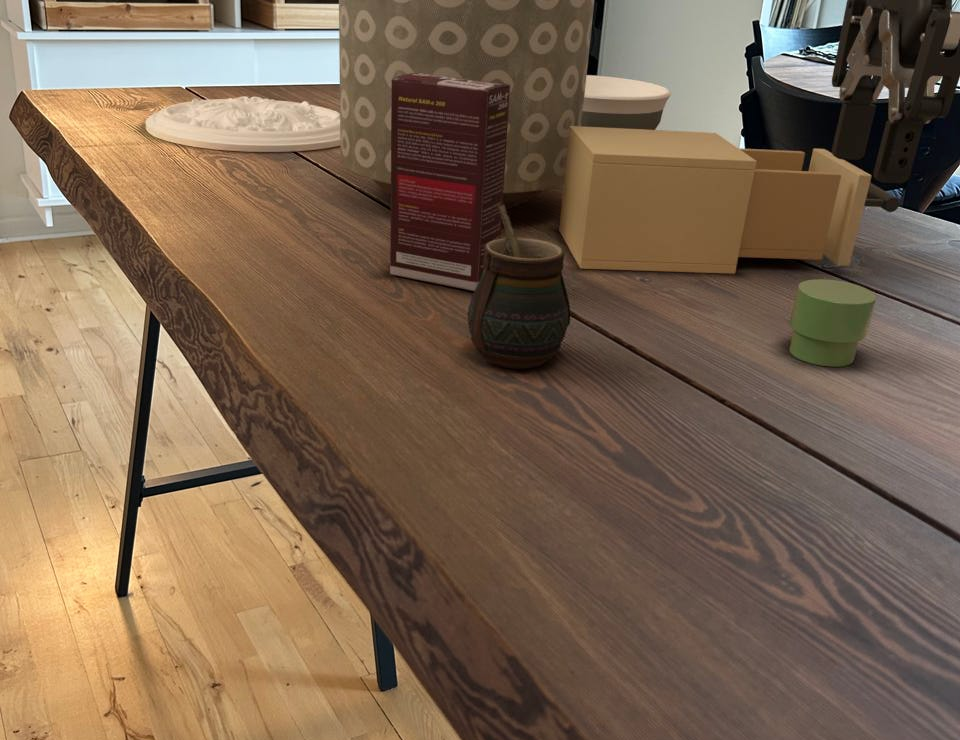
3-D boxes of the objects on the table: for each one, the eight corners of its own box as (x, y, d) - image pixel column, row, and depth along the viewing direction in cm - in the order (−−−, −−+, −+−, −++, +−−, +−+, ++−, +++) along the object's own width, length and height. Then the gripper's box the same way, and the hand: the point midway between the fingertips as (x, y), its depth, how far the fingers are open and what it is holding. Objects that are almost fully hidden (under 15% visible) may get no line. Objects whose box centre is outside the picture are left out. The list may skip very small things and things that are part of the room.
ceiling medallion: (262, 162, 122) (261, 134, 121) (99, 126, 134) (96, 100, 132) (399, 132, 143) (400, 108, 141) (248, 103, 155) (246, 80, 153)
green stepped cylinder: (842, 342, 81) (858, 280, 79) (871, 369, 76) (889, 305, 74) (773, 340, 80) (787, 277, 78) (798, 368, 76) (814, 302, 73)
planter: (493, 250, 97) (512, -38, 84) (291, 201, 108) (282, -61, 95) (611, 203, 115) (641, -39, 103) (429, 165, 126) (436, -58, 114)
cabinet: (698, 235, 106) (716, 132, 101) (735, 273, 95) (757, 160, 90) (558, 230, 104) (569, 125, 99) (580, 268, 94) (593, 153, 88)
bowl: (497, 142, 141) (501, 77, 137) (590, 131, 152) (596, 71, 148) (597, 170, 130) (605, 101, 125) (689, 156, 141) (700, 92, 136)
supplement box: (500, 278, 89) (514, 82, 81) (476, 294, 86) (489, 89, 77) (412, 261, 92) (417, 70, 84) (386, 275, 89) (388, 76, 80)
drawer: (849, 234, 106) (869, 150, 102) (897, 268, 97) (921, 177, 93) (678, 227, 105) (692, 142, 100) (709, 261, 95) (726, 168, 91)
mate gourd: (505, 385, 70) (516, 238, 65) (442, 348, 75) (448, 209, 70) (585, 366, 74) (602, 225, 68) (520, 332, 79) (531, 199, 73)
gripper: (1060, -107, 57) (968, 197, 66) (939, -107, 69) (875, 150, 78) (932, -117, 56) (856, 192, 65) (833, -115, 68) (780, 146, 77)
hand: (867, 168), depth 71 cm, fingers open, 6 cm apart
